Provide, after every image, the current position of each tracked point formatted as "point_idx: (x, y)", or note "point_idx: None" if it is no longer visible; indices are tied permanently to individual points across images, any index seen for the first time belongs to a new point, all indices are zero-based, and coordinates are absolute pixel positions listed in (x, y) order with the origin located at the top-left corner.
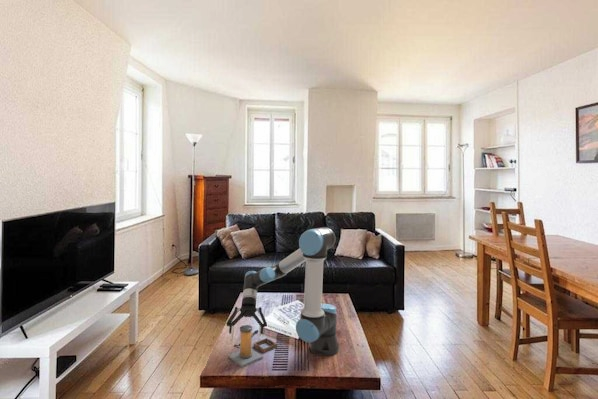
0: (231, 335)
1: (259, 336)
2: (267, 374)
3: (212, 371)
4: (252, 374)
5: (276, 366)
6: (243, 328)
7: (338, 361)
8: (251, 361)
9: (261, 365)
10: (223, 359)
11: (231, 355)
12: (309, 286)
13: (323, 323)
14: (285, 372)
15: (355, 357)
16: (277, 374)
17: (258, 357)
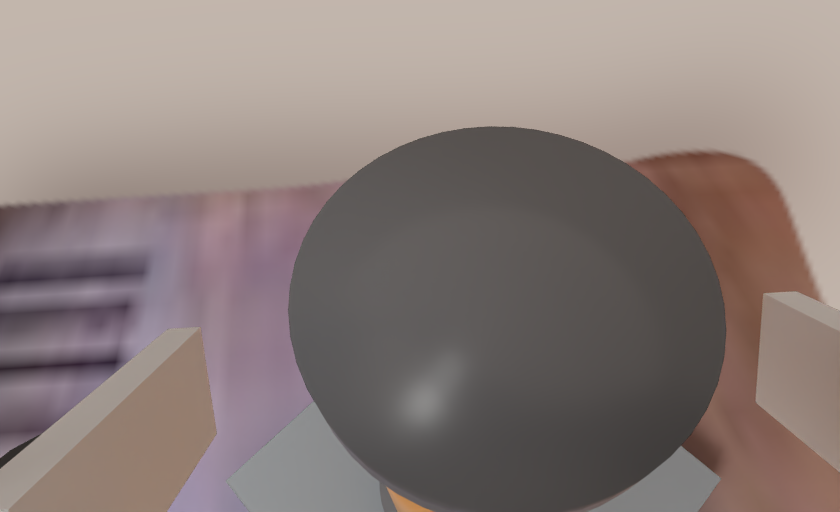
0: (834, 320)
1: (153, 348)
2: (202, 193)
3: (736, 200)
4: (340, 185)
5: (91, 318)
6: (570, 229)
7: None
8: None
9: (254, 326)
10: (747, 425)
11: (673, 473)
12: None
13: None
14: (27, 230)
15: None
16: (110, 199)
17: (285, 443)
